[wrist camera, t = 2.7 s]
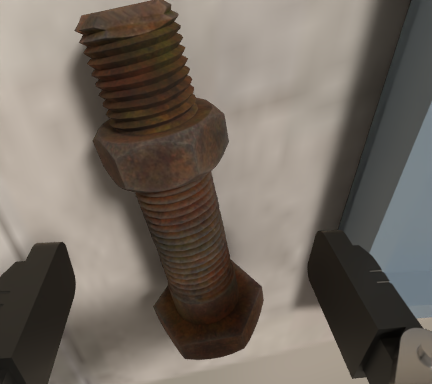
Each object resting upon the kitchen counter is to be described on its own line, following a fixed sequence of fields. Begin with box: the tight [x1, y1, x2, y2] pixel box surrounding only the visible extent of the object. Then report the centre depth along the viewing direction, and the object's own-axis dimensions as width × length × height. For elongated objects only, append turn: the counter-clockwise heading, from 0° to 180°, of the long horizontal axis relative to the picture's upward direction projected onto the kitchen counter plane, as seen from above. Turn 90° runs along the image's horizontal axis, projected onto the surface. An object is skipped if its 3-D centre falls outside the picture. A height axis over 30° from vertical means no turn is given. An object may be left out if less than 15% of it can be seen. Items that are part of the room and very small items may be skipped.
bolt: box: [75, 0, 264, 360], centre depth 14 cm, size 6×5×15 cm
